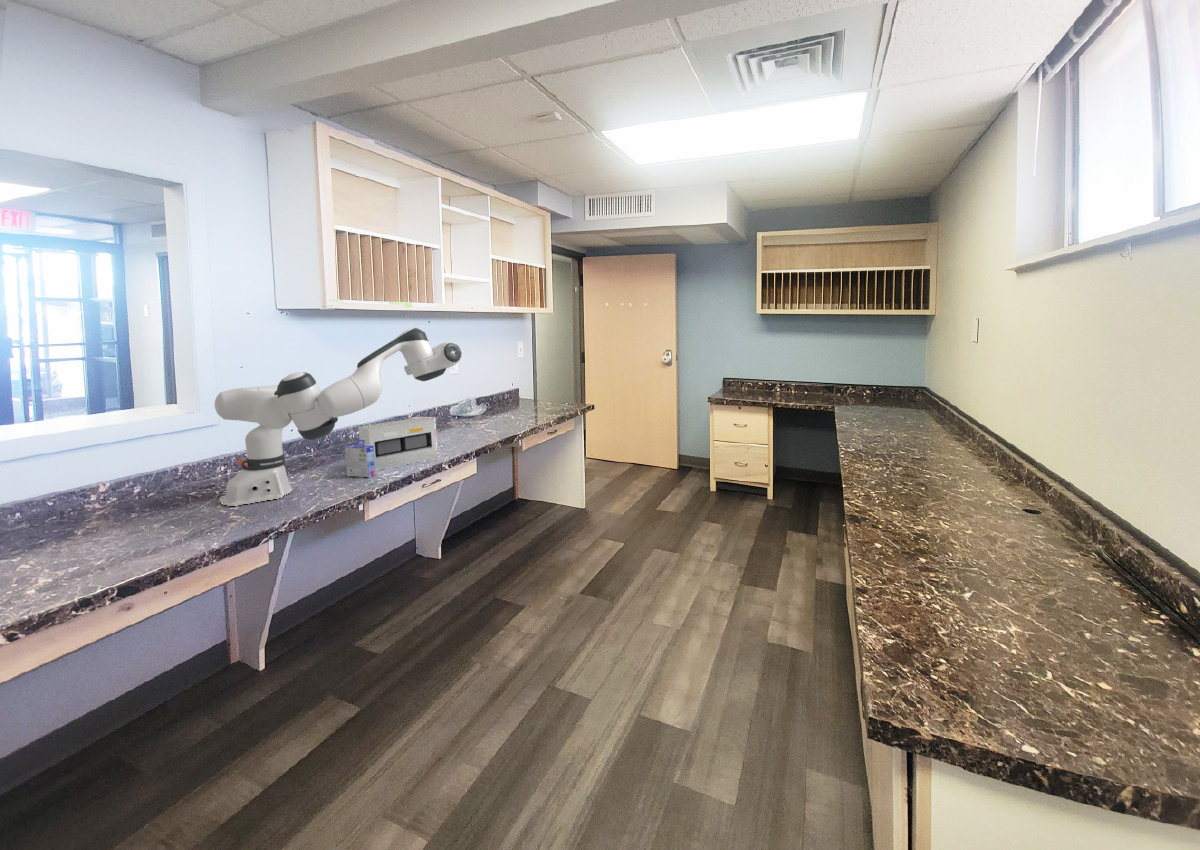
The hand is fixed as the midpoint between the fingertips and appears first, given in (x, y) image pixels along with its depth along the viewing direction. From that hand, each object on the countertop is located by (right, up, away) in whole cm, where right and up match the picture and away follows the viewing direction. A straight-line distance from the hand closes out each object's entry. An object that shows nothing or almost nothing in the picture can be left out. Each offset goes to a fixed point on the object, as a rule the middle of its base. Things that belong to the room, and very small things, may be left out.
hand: (425, 364), depth 221 cm
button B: (-14, -33, +28) cm, 45 cm away
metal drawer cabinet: (-18, -40, +25) cm, 51 cm away
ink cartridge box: (-27, -44, +7) cm, 52 cm away
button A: (-22, -35, +19) cm, 46 cm away
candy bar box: (-14, -36, +47) cm, 61 cm away
